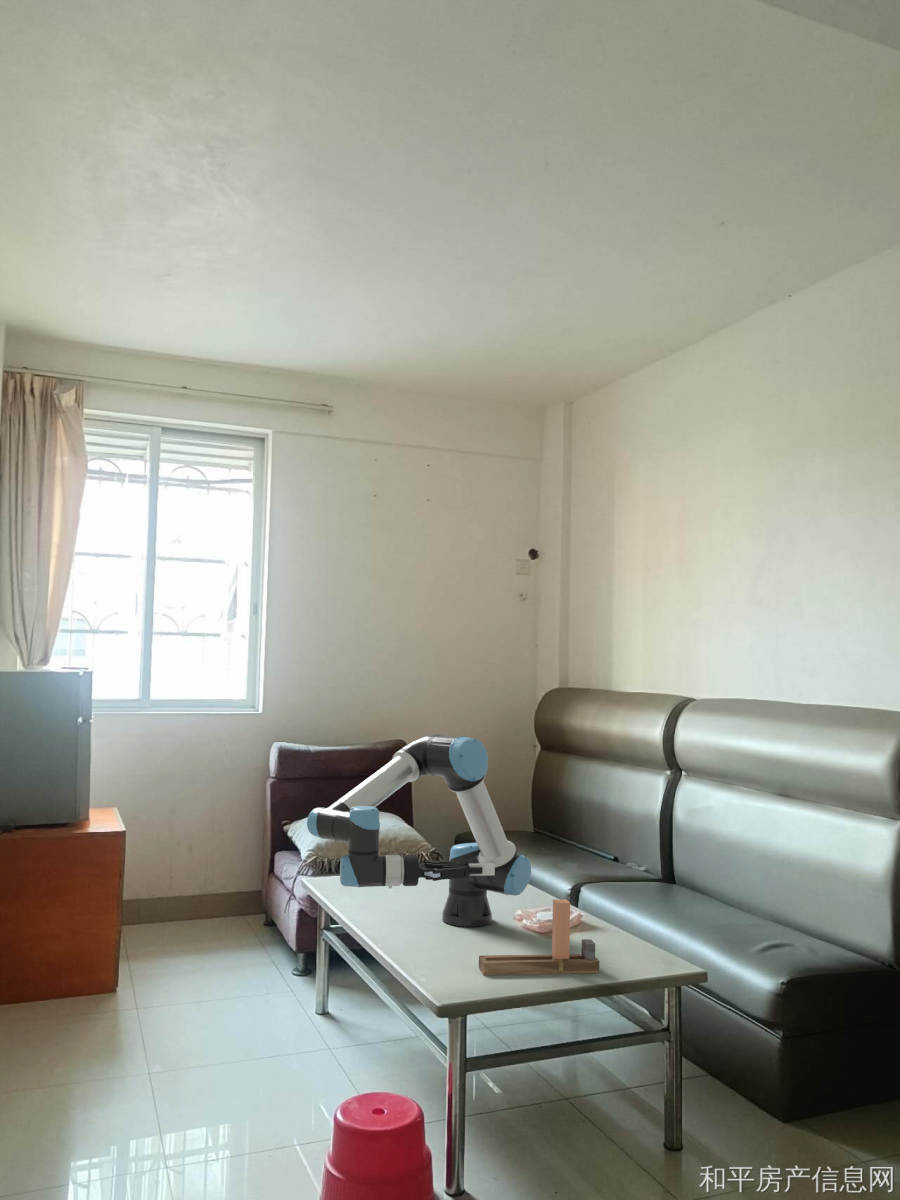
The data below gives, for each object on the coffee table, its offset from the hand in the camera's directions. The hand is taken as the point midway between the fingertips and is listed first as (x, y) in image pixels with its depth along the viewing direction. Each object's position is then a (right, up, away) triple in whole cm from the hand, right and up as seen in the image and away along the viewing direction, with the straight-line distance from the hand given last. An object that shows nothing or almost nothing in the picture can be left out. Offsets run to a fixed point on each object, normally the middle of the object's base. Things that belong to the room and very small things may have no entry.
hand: (494, 869), depth 236 cm
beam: (+11, -26, 0) cm, 28 cm away
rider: (+17, -26, +1) cm, 31 cm away
